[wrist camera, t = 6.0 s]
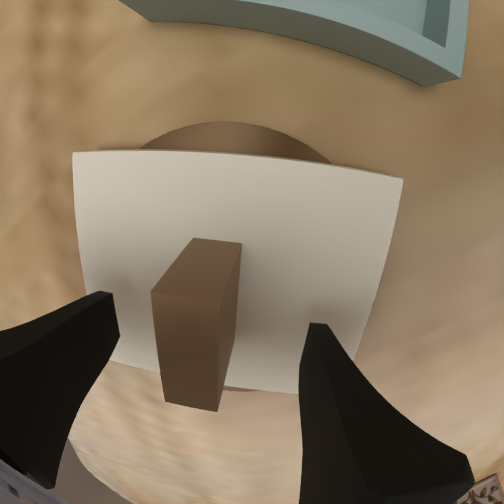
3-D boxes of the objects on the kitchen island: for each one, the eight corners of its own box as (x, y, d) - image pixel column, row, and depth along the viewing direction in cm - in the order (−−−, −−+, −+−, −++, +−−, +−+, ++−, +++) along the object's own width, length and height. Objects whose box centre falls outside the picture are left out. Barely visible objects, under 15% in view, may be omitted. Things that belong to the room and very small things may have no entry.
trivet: (421, 180, 11) (425, 182, 11) (313, 404, 16) (313, 409, 16) (108, 101, 11) (103, 100, 11) (97, 343, 16) (94, 347, 16)
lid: (388, 172, 11) (462, 207, 6) (335, 374, 15) (347, 461, 10) (93, 148, 12) (0, 169, 6) (114, 340, 16) (67, 408, 10)
